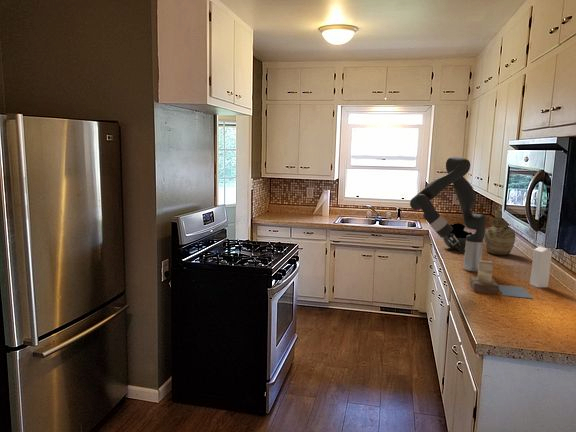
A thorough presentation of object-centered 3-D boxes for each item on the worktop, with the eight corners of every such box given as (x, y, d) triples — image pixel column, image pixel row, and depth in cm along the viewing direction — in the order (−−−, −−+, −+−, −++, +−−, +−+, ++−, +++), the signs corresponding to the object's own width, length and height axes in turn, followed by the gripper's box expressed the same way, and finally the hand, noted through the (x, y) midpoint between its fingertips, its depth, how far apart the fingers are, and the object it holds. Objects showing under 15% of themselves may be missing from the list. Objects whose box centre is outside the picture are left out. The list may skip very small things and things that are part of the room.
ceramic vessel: (485, 248, 322) (490, 208, 317) (516, 254, 307) (521, 211, 303) (476, 252, 308) (480, 210, 303) (508, 258, 294) (513, 213, 289)
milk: (539, 284, 235) (544, 243, 232) (547, 287, 229) (553, 246, 226) (529, 284, 234) (534, 243, 231) (537, 287, 228) (542, 245, 225)
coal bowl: (466, 247, 324) (469, 222, 321) (475, 253, 304) (478, 226, 301) (438, 246, 326) (441, 220, 323) (445, 251, 306) (447, 225, 303)
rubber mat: (495, 285, 229) (495, 284, 229) (522, 288, 226) (522, 287, 226) (503, 295, 212) (503, 294, 212) (532, 298, 209) (532, 298, 209)
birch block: (477, 279, 225) (478, 260, 223) (489, 280, 223) (491, 261, 222) (478, 281, 221) (480, 262, 219) (491, 282, 219) (493, 263, 218)
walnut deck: (469, 283, 231) (470, 275, 230) (492, 285, 228) (492, 278, 228) (473, 291, 217) (474, 283, 216) (498, 294, 214) (498, 286, 213)
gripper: (448, 223, 216) (471, 248, 215) (445, 219, 229) (466, 243, 228) (436, 233, 218) (458, 258, 217) (434, 228, 231) (455, 252, 230)
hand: (462, 250), depth 223 cm, fingers open, 8 cm apart
